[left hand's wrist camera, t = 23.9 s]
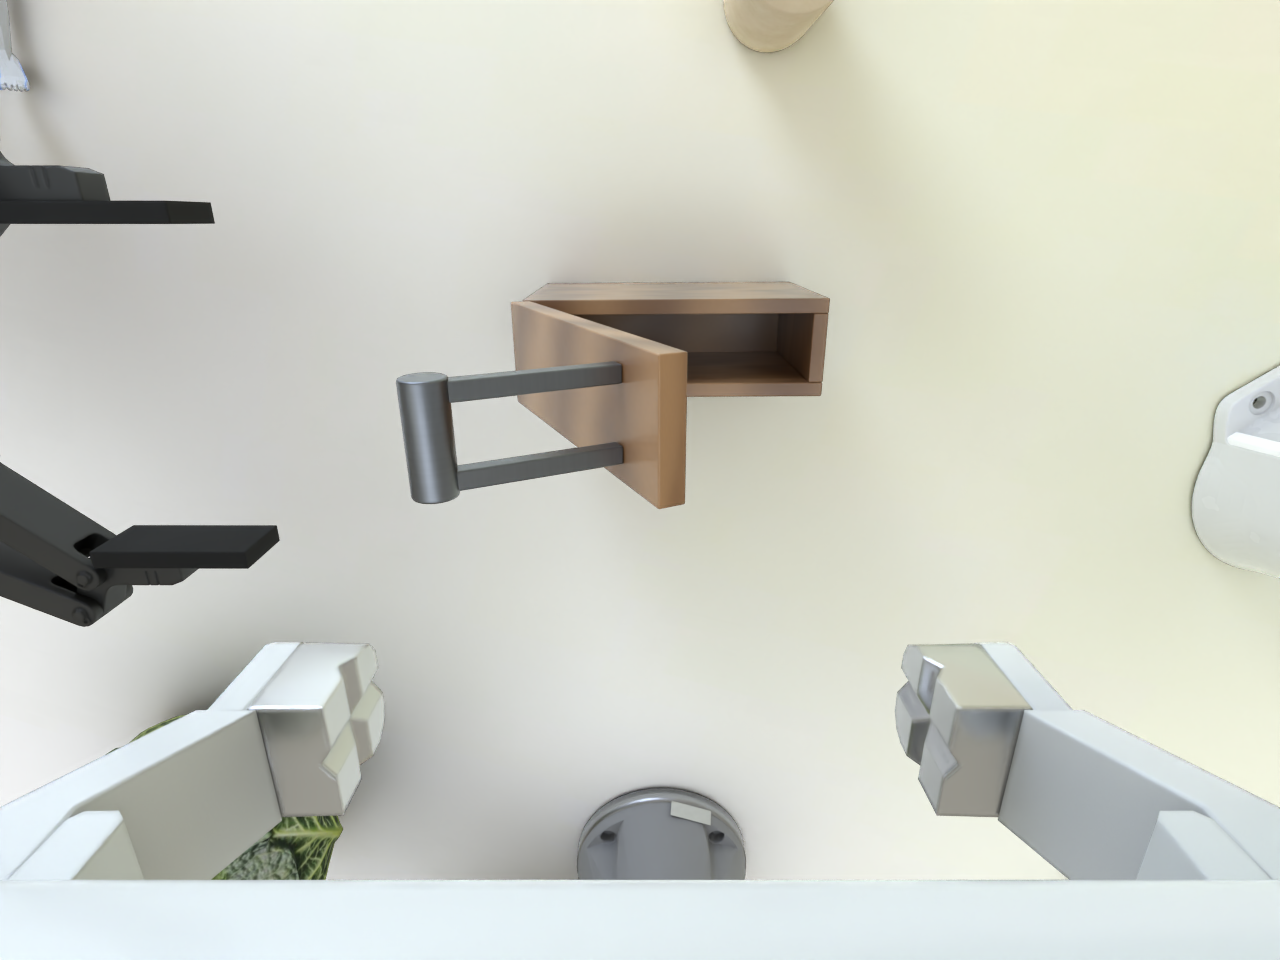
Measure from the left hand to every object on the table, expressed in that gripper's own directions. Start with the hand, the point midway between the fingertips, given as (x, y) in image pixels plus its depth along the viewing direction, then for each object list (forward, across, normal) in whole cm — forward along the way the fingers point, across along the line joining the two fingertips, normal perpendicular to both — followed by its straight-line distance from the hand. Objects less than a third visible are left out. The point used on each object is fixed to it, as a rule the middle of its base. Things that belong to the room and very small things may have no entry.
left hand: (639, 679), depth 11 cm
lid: (+20, -2, 0) cm, 20 cm away
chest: (+38, +2, 0) cm, 39 cm away
